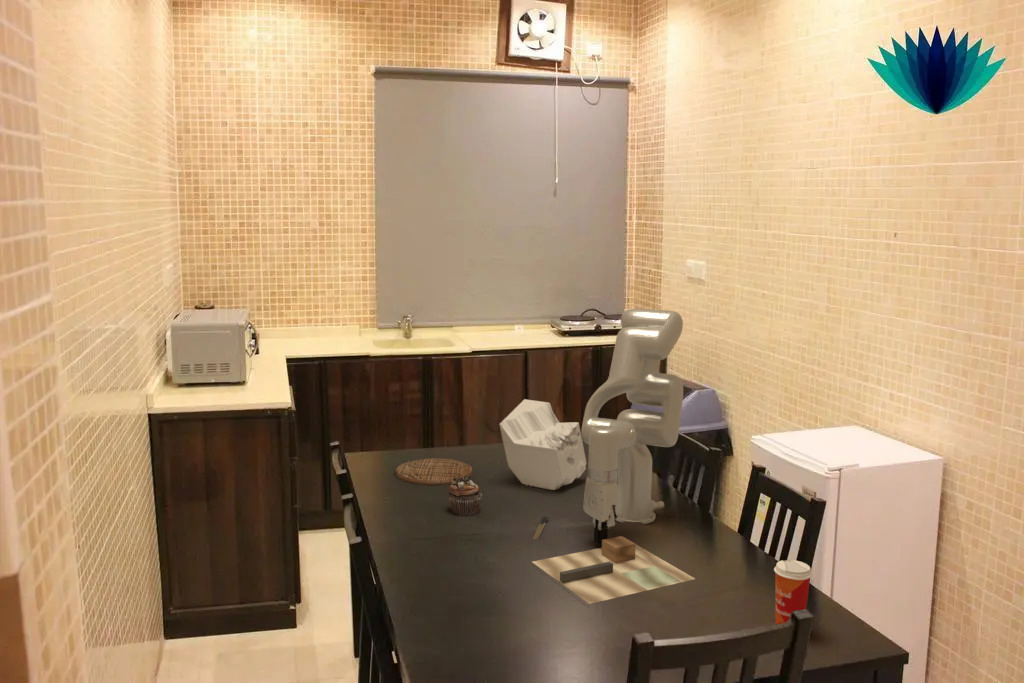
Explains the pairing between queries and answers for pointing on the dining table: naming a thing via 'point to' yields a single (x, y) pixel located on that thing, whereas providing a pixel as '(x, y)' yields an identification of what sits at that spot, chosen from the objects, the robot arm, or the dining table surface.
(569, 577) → the dark gray bar
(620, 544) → the walnut block
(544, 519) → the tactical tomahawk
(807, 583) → the paper cup
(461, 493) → the cupcake
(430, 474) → the trivet
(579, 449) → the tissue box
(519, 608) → the dining table surface
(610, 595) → the board
